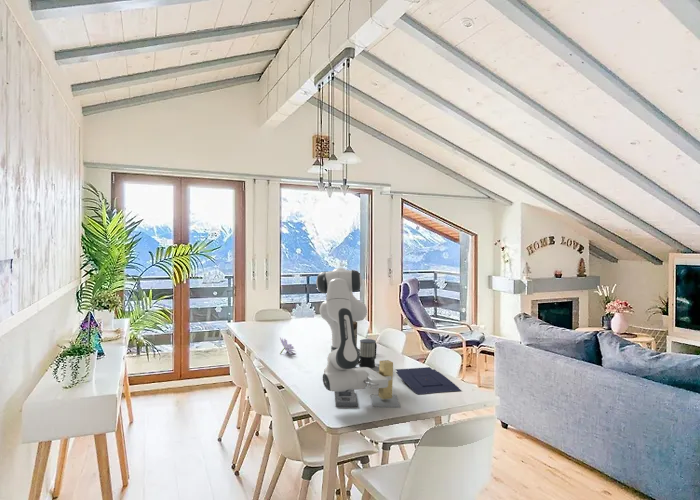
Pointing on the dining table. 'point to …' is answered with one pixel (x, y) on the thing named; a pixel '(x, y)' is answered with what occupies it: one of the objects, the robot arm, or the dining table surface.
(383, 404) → the grey mat
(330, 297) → the robot arm
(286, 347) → the purple daisy flower
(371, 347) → the milk frother
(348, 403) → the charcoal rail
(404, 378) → the navy flat rectangular piece
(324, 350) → the dining table surface
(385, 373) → the brass peg
